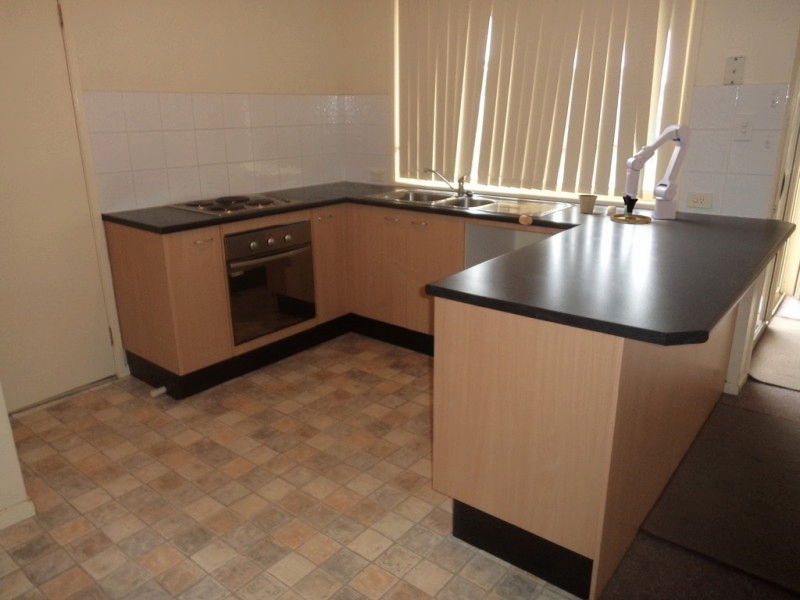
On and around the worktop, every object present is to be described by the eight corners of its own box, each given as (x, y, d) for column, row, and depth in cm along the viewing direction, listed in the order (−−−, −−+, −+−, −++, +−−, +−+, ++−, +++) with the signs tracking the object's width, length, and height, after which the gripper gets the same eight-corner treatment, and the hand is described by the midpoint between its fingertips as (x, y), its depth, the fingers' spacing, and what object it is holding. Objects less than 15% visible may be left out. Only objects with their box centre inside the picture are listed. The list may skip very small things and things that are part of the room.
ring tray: (645, 218, 292) (645, 213, 292) (654, 224, 275) (655, 219, 275) (606, 216, 295) (607, 212, 294) (614, 223, 278) (614, 218, 277)
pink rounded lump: (532, 223, 272) (526, 222, 275) (531, 215, 270) (525, 213, 274) (525, 226, 270) (519, 224, 274) (524, 218, 269) (518, 216, 272)
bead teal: (631, 214, 291) (632, 205, 290) (633, 215, 287) (634, 206, 286) (622, 214, 292) (623, 205, 290) (624, 215, 288) (625, 206, 286)
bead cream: (614, 215, 301) (615, 206, 299) (616, 216, 297) (617, 207, 296) (606, 214, 301) (607, 205, 300) (607, 216, 297) (608, 207, 296)
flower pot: (573, 211, 310) (574, 194, 307) (588, 210, 313) (590, 194, 310) (583, 214, 301) (585, 197, 299) (599, 213, 304) (601, 196, 302)
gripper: (620, 181, 292) (616, 209, 296) (626, 184, 279) (623, 214, 283) (635, 181, 291) (631, 209, 295) (642, 185, 278) (638, 214, 282)
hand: (628, 211), depth 289 cm, fingers closed on bead teal, 4 cm apart
